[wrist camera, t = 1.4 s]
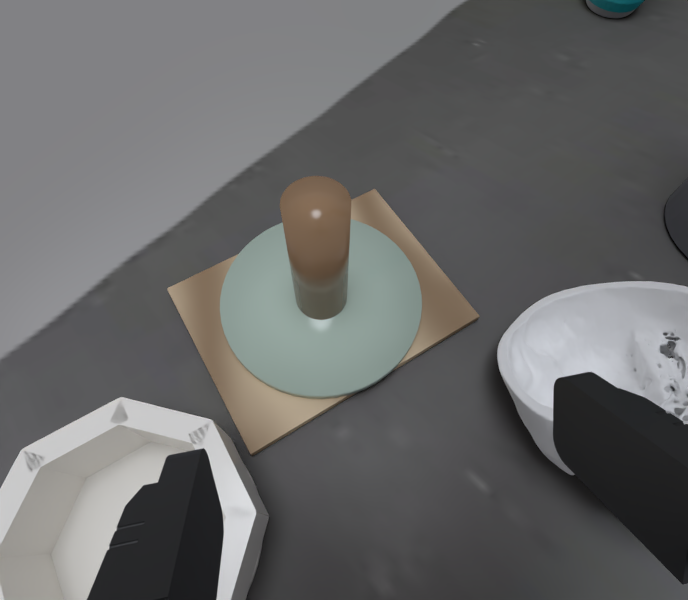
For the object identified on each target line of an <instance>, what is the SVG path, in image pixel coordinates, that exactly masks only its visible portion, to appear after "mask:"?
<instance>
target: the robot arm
mask: <svg viewBox="0 0 688 600" xmlns="http://www.w3.org/2000/svg"><path fill="white" fill-rule="evenodd" d="M665 221H666V226H667V228H668V231H669V233H670V236H671V237H672V239H673V240H674V242H675V243H676V245H677V246H678V248H679V249H680V250H681V251H682V252H683V253H684V254H685V255H686V256H687V257H688V178H687V179H686V180H685V181H684V182H683V183H682V184H681V185H680V186H679V187H678V188H677V190H676V191H675V192H674V193H673V194H672V195H671V196H670V197H669V199H668V201H667V204H666V207H665ZM553 441H554V445H555V448H556V451H557V453H558V455H559V457H560V458H561V460H562V461H563V463H564V464H565V465H566V466H567V467H568V468H569V469H570V470H571V471H572V472H573V473H574V474H575V475H576V476H577V477H578V478H579V479H580V480H581V481H582V482H583V483H584V484H585V485H586V486H587V487H588V488H589V489H590V490H591V491H592V492H593V493H594V494H595V495H596V496H597V497H598V499H599V500H600V501H601V502H602V503H603V504H604V505H605V506H606V507H607V508H608V509H609V510H610V511H611V512H612V513H613V514H614V515H615V516H616V517H617V518H618V519H619V520H620V521H621V522H622V523H623V524H624V525H625V526H626V527H627V528H628V529H629V530H630V531H631V532H632V533H633V534H634V535H635V536H636V537H637V538H638V539H639V540H640V541H641V542H642V543H643V544H644V545H645V547H646V548H647V549H648V550H649V551H650V552H651V553H652V554H653V555H654V556H655V557H656V558H657V559H658V560H659V561H660V562H661V563H662V564H663V565H664V566H665V567H666V568H667V569H668V570H669V571H670V572H671V573H672V574H673V575H674V576H675V577H676V578H677V579H678V580H679V581H680V582H681V583H682V584H686V583H688V424H685V425H684V423H683V421H682V420H680V419H679V418H677V417H675V416H674V415H672V414H671V413H666V410H664V409H663V408H661V407H660V406H658V405H656V404H655V403H653V402H652V401H650V400H648V399H647V398H645V397H643V396H640V395H637V394H634V393H632V392H629V391H626V390H623V389H620V388H617V387H615V386H614V385H612V384H611V383H609V382H608V381H606V380H604V379H603V378H601V377H600V376H598V375H597V374H595V373H593V372H585V373H580V374H575V375H570V376H565V377H560V378H558V379H557V380H556V381H555V383H554V390H553ZM223 537H224V525H223V514H222V508H221V504H220V500H219V496H218V492H217V488H216V484H215V481H214V477H213V473H212V469H211V465H210V461H209V457H208V454H207V452H206V450H205V449H204V448H202V449H197V450H192V451H187V452H182V453H177V454H172V455H168V456H167V457H166V460H165V463H164V466H163V469H162V471H161V474H160V477H159V480H158V482H157V483H152V484H148V485H143V486H142V487H141V489H140V490H139V491H138V492H137V493H136V494H135V495H134V496H133V498H132V499H131V500H130V501H129V502H128V503H127V504H126V505H125V508H124V510H123V513H122V515H121V518H120V520H119V522H118V525H117V531H115V532H114V535H113V537H112V539H111V542H110V544H109V550H107V552H106V554H105V557H104V559H103V561H102V564H101V566H100V569H99V571H98V574H97V576H96V578H95V581H94V583H93V586H92V588H91V591H90V593H89V596H88V598H87V600H216V599H217V590H218V581H219V573H220V564H221V555H222V547H223Z"/></svg>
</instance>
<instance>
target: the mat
mask: <svg viewBox="0 0 688 600" xmlns="http://www.w3.org/2000/svg"><path fill="white" fill-rule="evenodd" d="M351 219H352V220H356V221H359V222H361V223H364V224H367V225H369V226H371V227H373V228H375V229H376V230H378V231H380V232H381V233H383V234H384V235H386V236H387V237H388V238H390V239H391V240H392V241H393V242H394V243H395V244H396V245H397V246H398V247H399V248H400V249H401V250H402V251H403V252H404V254H405V255H406V257H407V258H408V259H409V261H410V262H411V264H412V266H413V268H414V270H415V272H416V275H417V278H418V281H419V284H420V289H421V294H422V312H421V319H420V323H419V327H418V331H417V333H416V336H415V338H414V341H413V343H412V345H411V347H410V349H409V351H408V352H407V354H406V356H405V357H404V358H403V360H402V361H401V362H400V363H399V365H398V366H397V367H396V368H395V369H397V368H399V367H400V366H402V365H404V364H405V363H407V362H409V361H410V360H412V359H414V358H415V357H417V356H419V355H420V354H422V353H423V352H425V351H427V350H428V349H430V348H432V347H433V346H435V345H437V344H438V343H440V342H442V341H443V340H445V339H447V338H448V337H450V336H452V335H453V334H455V333H457V332H458V331H460V330H461V329H463V328H465V327H466V326H468V325H470V324H471V323H473V322H475V321H476V320H477V319H478V318H479V315H478V314H477V312H476V311H475V310H474V309H473V308H472V306H471V305H470V304H469V303H468V302H467V300H466V299H465V298H464V297H463V295H462V294H461V293H460V292H459V291H458V289H457V288H456V287H455V286H454V284H453V283H452V282H451V281H450V280H449V278H448V277H447V276H446V275H445V274H444V272H443V271H442V270H441V269H440V267H439V266H438V265H437V264H436V263H435V261H434V260H433V259H432V258H431V257H430V255H429V254H428V253H427V252H426V250H425V249H424V248H423V247H422V246H421V244H420V243H419V242H418V241H417V240H416V238H415V237H414V236H413V235H412V233H411V232H410V231H409V230H408V229H407V227H406V226H405V225H404V224H403V222H402V221H401V220H400V219H399V218H398V216H397V215H396V214H395V213H394V212H393V210H392V209H391V208H390V207H389V205H388V204H387V203H386V202H385V201H384V199H383V198H382V197H381V196H380V195H379V193H378V192H377V191H376V190H375V189H373V190H371V191H369V192H367V193H365V194H363V195H361V196H359V197H357V198H355V199H352V200H351ZM236 257H237V255H236V256H234V257H232V258H229V259H227V260H225V261H223V262H221V263H219V264H217V265H215V266H213V267H211V268H209V269H207V270H204V271H202V272H200V273H198V274H196V275H194V276H192V277H190V278H188V279H186V280H184V281H182V282H179V283H177V284H175V285H173V286H171V287H169V288H167V290H168V292H169V294H170V296H171V297H172V299H173V301H174V303H175V305H176V307H177V309H178V311H179V313H180V315H181V317H182V319H183V321H184V323H185V325H186V327H187V329H188V331H189V333H190V335H191V337H192V339H193V341H194V343H195V345H196V347H197V349H198V351H199V353H200V355H201V357H202V359H203V361H204V363H205V365H206V367H207V369H208V371H209V373H210V375H211V377H212V379H213V381H214V383H215V385H216V387H217V389H218V391H219V393H220V395H221V397H222V399H223V401H224V403H225V405H226V407H227V409H228V411H229V413H230V415H231V417H232V419H233V421H234V423H235V425H236V427H237V428H238V430H239V432H240V434H241V436H242V438H243V440H244V442H245V444H246V446H247V448H248V450H249V452H250V454H251V455H252V456H253V455H255V454H257V453H258V452H260V451H262V450H263V449H265V448H267V447H268V446H270V445H272V444H273V443H275V442H277V441H278V440H280V439H281V438H283V437H285V436H286V435H288V434H290V433H291V432H293V431H295V430H296V429H298V428H300V427H301V426H303V425H305V424H306V423H308V422H310V421H311V420H313V419H314V418H316V417H318V416H319V415H321V414H323V413H324V412H326V411H328V410H329V409H331V408H333V407H334V406H336V405H338V404H339V403H341V402H343V401H344V400H346V399H348V398H349V397H351V396H352V395H354V394H356V393H354V394H352V395H347V396H343V397H338V398H329V399H308V398H302V397H296V396H292V395H289V394H286V393H283V392H280V391H278V390H276V389H274V388H271V387H269V386H267V385H266V384H264V383H263V382H261V381H260V380H258V379H257V378H256V377H254V376H253V375H252V374H251V373H250V372H249V371H248V370H247V369H246V368H245V367H244V366H243V365H242V364H241V362H240V361H239V360H238V358H237V357H236V355H235V354H234V352H233V351H232V349H231V347H230V345H229V343H228V341H227V339H226V336H225V334H224V331H223V327H222V323H221V316H220V296H221V291H222V286H223V283H224V280H225V277H226V274H227V272H228V270H229V268H230V266H231V264H232V263H233V261H234V260H235V258H236ZM395 369H394V370H395ZM394 370H393V371H394Z"/></svg>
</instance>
